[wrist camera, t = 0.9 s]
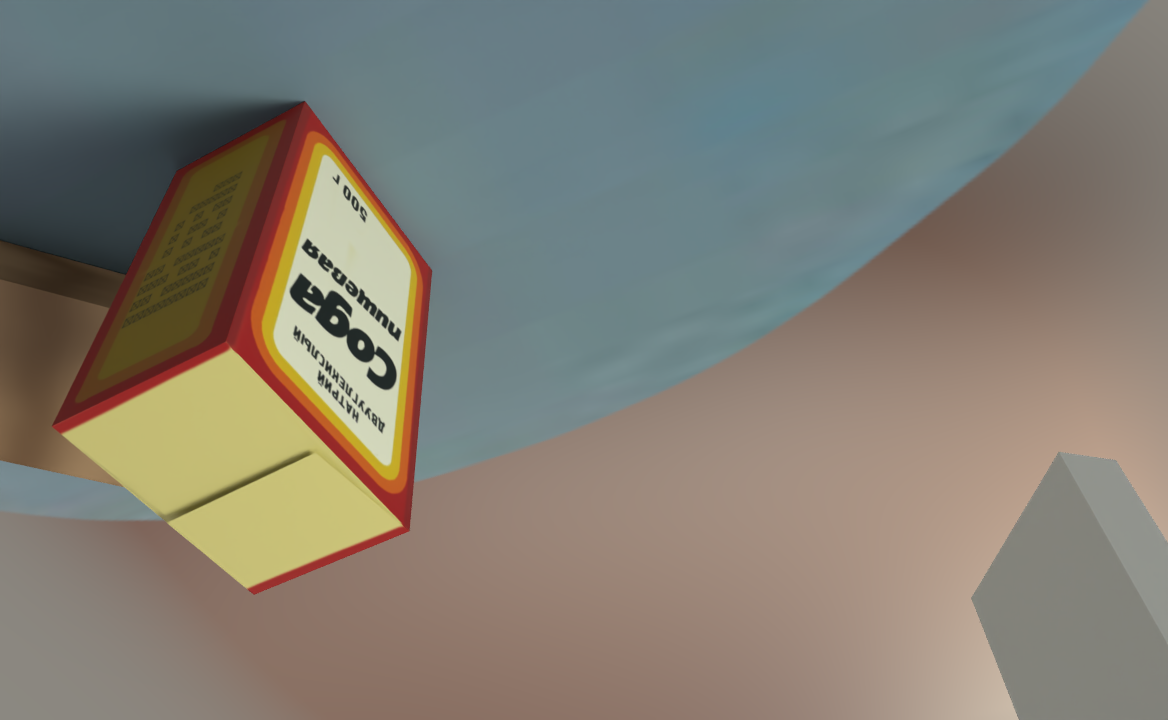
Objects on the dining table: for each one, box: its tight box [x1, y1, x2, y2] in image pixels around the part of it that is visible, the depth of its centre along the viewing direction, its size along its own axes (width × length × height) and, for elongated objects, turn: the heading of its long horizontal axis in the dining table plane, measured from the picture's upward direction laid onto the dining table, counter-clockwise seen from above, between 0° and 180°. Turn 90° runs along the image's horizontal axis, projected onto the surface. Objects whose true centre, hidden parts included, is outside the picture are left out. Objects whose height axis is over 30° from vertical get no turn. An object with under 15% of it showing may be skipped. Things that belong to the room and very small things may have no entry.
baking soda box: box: [52, 101, 432, 594], centre depth 39 cm, size 10×6×16 cm
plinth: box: [0, 241, 126, 487], centre depth 47 cm, size 11×11×2 cm
